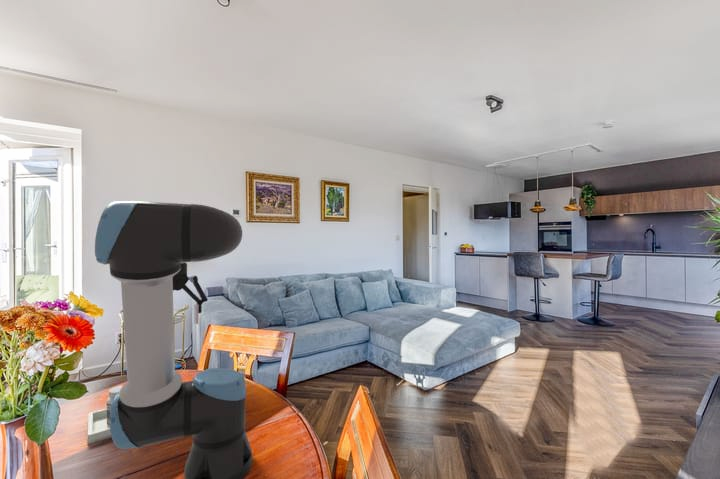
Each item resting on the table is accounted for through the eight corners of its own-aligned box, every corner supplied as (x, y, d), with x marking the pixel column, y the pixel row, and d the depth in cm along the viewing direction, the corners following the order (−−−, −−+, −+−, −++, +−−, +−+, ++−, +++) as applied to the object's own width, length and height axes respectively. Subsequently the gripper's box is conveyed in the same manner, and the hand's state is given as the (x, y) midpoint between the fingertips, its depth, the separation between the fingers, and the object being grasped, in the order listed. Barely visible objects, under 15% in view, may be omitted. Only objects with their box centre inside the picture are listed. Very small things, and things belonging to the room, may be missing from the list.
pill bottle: (130, 414, 100) (131, 382, 100) (130, 423, 95) (130, 390, 95) (107, 420, 97) (107, 387, 97) (105, 429, 92) (105, 395, 92)
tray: (149, 425, 95) (149, 417, 95) (87, 444, 86) (87, 435, 86) (144, 406, 106) (144, 398, 106) (88, 420, 97) (88, 412, 97)
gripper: (210, 260, 117) (210, 318, 118) (126, 263, 101) (126, 330, 101) (217, 261, 112) (216, 322, 112) (129, 264, 95) (128, 336, 96)
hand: (173, 326), depth 107 cm, fingers open, 13 cm apart
